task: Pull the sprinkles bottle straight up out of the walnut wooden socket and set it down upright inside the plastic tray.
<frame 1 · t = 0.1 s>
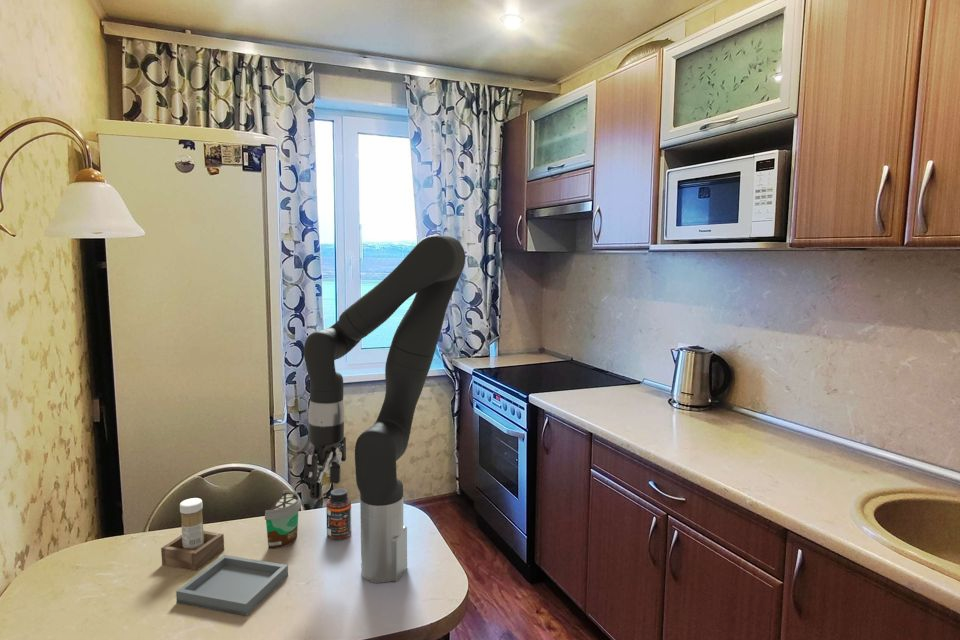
hand: (325, 490, 124), 17 cm above the table, tool pointing down, fingers open, 8 cm apart
socket: (194, 557, 128), on the table
supplement bottle: (339, 535, 139), on the table
sprinkles bottle: (194, 558, 128), resting in socket
tray: (234, 588, 116), on the table
food container: (288, 539, 137), on the table
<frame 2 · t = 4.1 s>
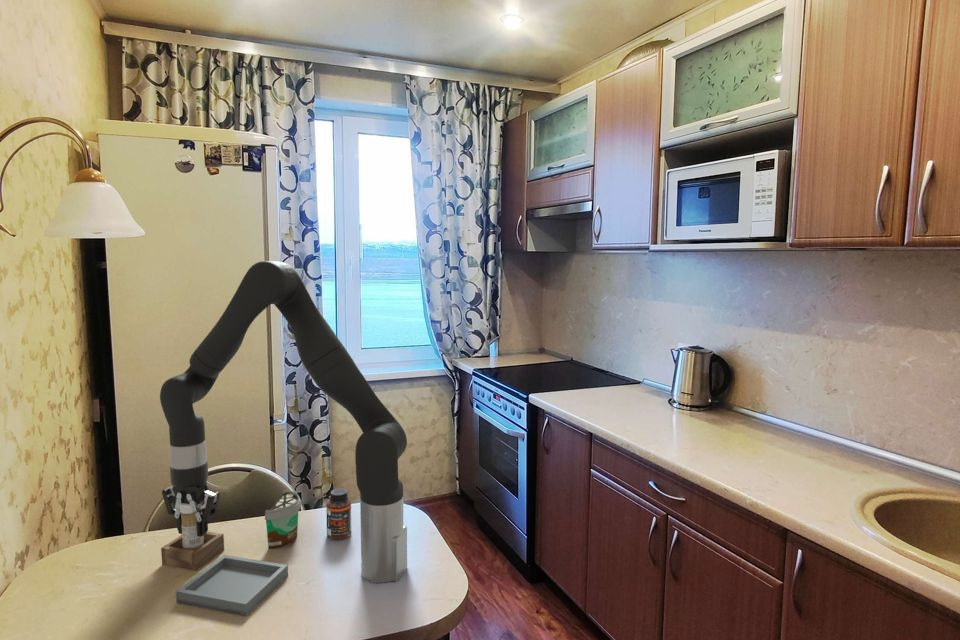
hand: (192, 533, 128), 6 cm above the table, tool pointing down, fingers closed on sprinkles bottle, 4 cm apart
sprinkles bottle: (194, 558, 128), resting in socket, touching gripper
everything else where it was.
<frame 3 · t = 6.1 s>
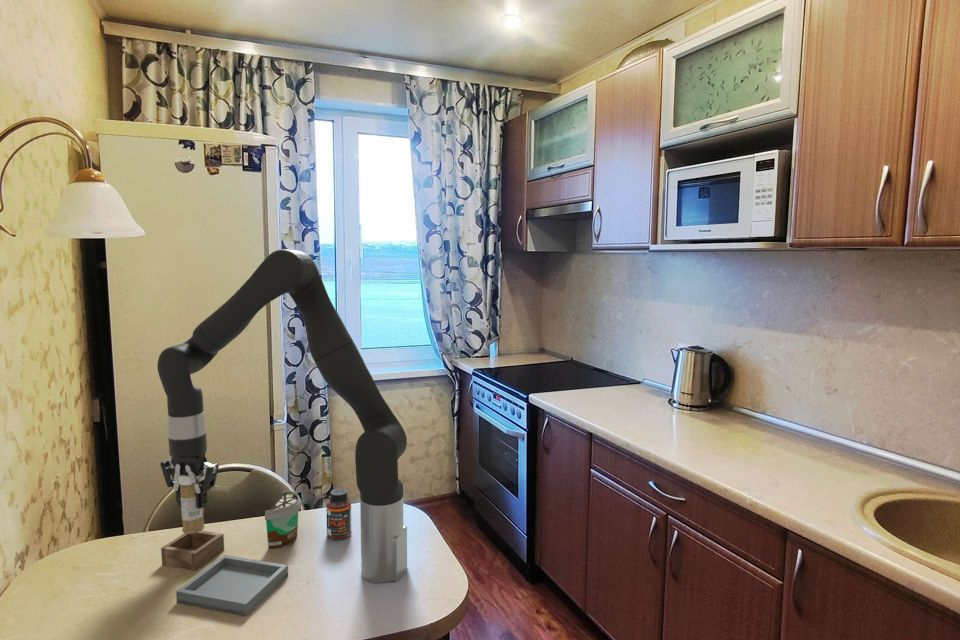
hand: (191, 505, 127), 12 cm above the table, tool pointing down, fingers closed on sprinkles bottle, 4 cm apart
sprinkles bottle: (193, 530, 127), point 6 cm above the table, touching gripper
everything else where it was.
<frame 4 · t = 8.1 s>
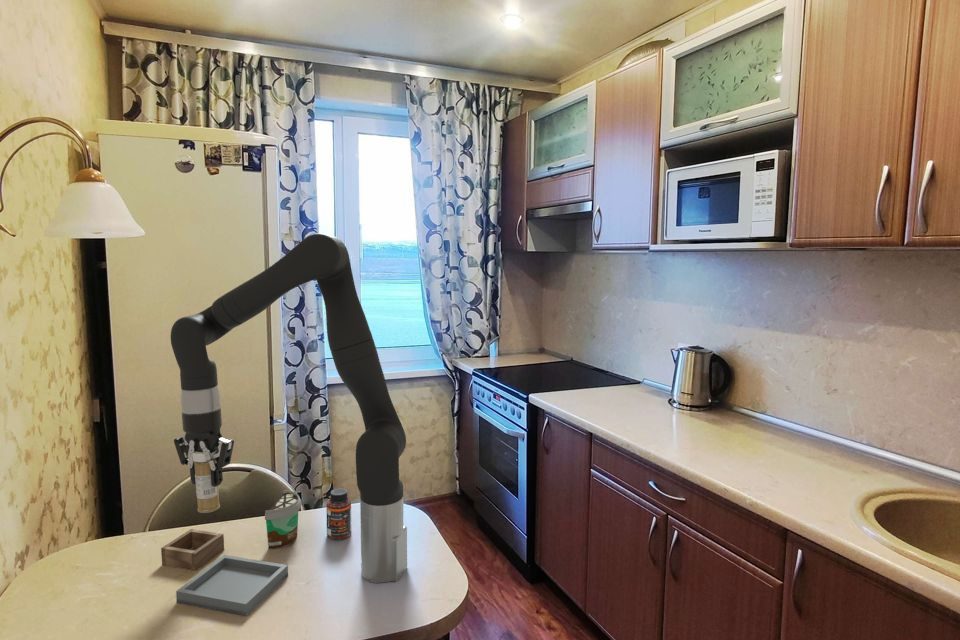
hand: (206, 483, 122), 19 cm above the table, tool pointing down, fingers closed on sprinkles bottle, 4 cm apart
sprinkles bottle: (208, 510, 123), point 13 cm above the table, touching gripper
everything else where it was.
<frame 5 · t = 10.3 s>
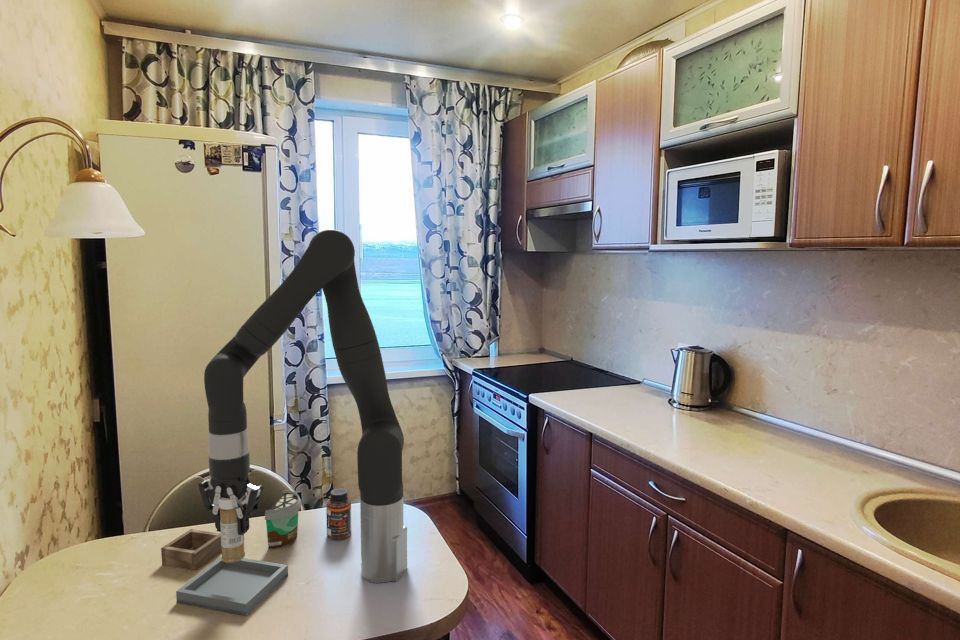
hand: (232, 531, 115), 13 cm above the table, tool pointing down, fingers closed on sprinkles bottle, 4 cm apart
sprinkles bottle: (233, 558, 116), point 7 cm above the table, touching gripper
everything else where it was.
when the fingers open (8 cm above the table, at t = 12.0 s): sprinkles bottle drops 1 cm, resting on tray.
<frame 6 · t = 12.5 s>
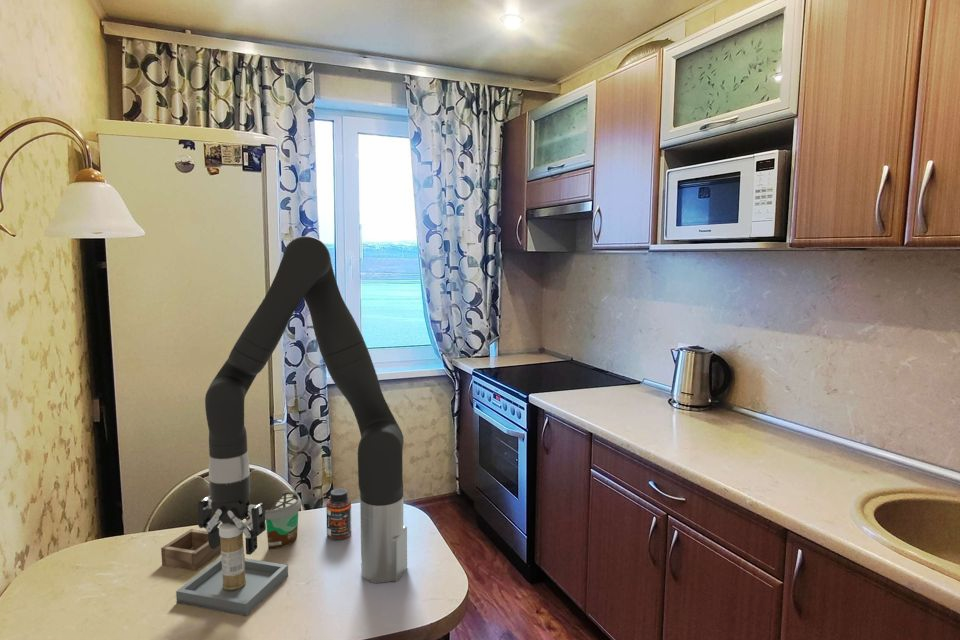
hand: (233, 549, 115), 9 cm above the table, tool pointing down, fingers open, 8 cm apart
sprinkles bottle: (234, 586, 116), point 1 cm above the table, touching tray
everything else where it was.
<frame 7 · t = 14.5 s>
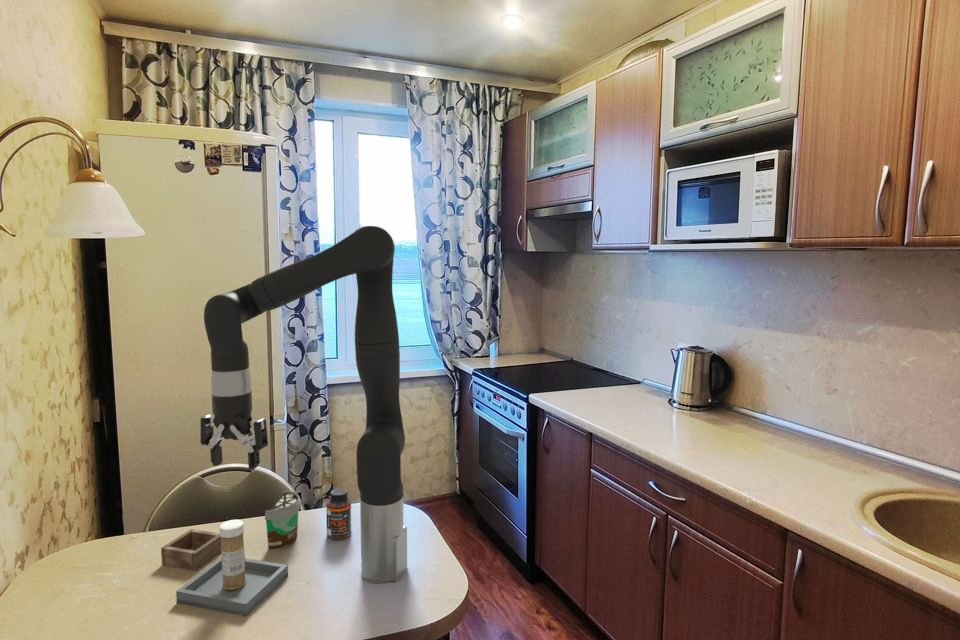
hand: (235, 466, 117), 25 cm above the table, tool pointing down, fingers open, 8 cm apart
nothing on the table moved.
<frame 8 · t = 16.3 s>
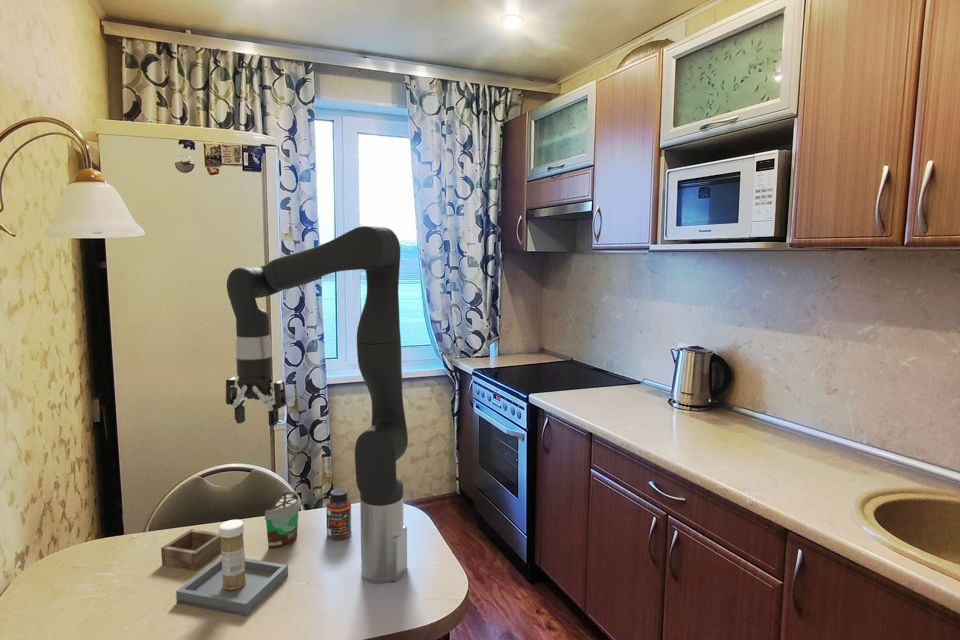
hand: (256, 424, 130), 30 cm above the table, tool pointing down, fingers open, 8 cm apart
nothing on the table moved.
at the end: sprinkles bottle inside the target area on the tray (0.1 cm from its centre), point 0.6 cm above the tray's base; sprinkles bottle tilted 0°; the gripper is holding nothing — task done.
